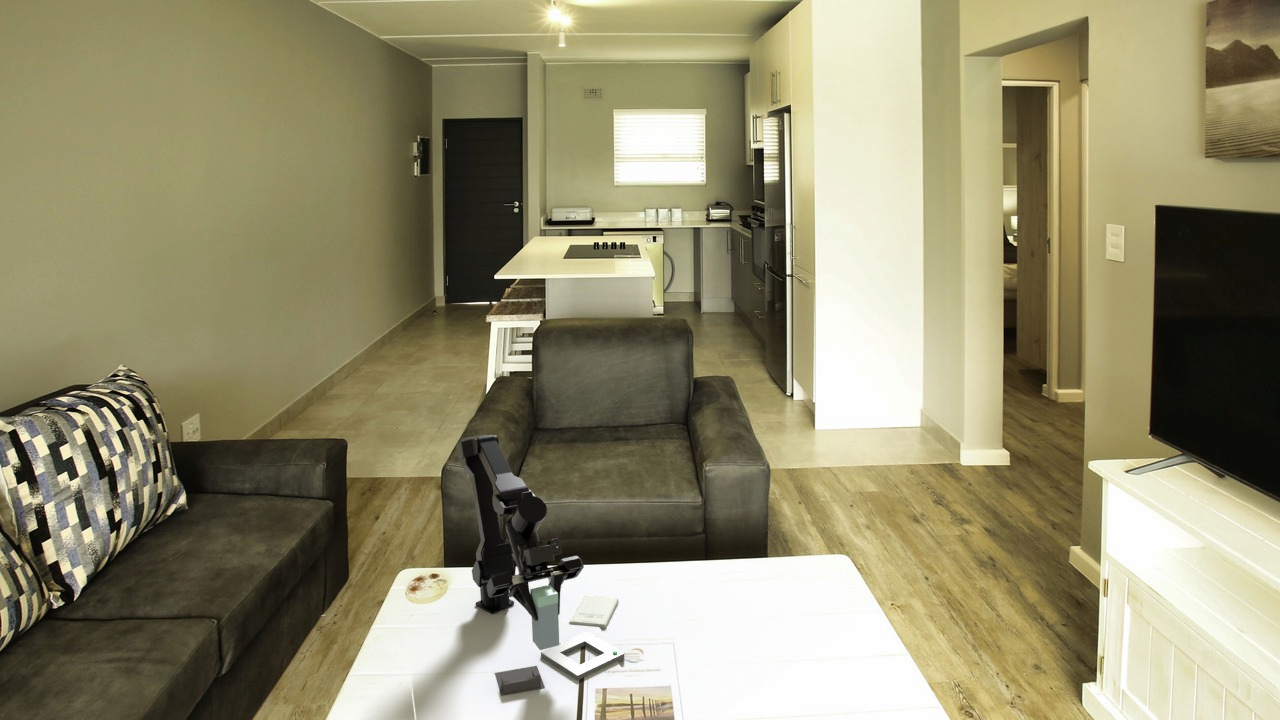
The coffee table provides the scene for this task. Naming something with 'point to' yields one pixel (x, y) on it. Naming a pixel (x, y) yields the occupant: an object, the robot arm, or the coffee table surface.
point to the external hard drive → (594, 611)
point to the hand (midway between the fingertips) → (547, 617)
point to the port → (580, 671)
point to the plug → (545, 617)
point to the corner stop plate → (519, 680)
